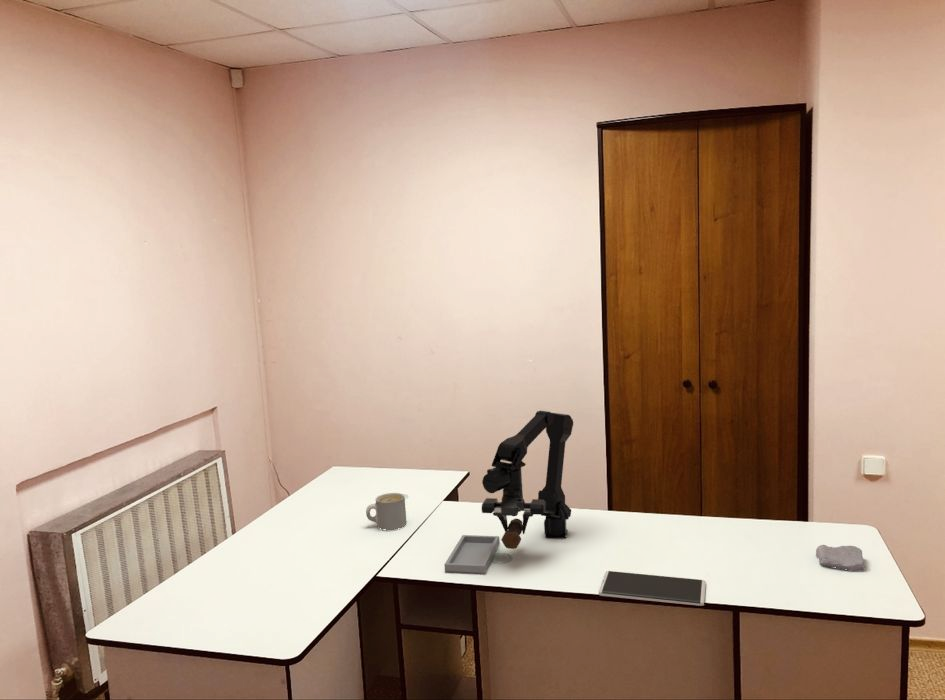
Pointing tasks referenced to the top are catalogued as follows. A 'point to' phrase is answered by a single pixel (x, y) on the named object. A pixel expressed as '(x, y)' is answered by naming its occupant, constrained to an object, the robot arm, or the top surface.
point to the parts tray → (472, 554)
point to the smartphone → (653, 588)
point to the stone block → (841, 557)
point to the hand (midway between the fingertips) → (515, 533)
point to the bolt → (513, 534)
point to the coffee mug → (389, 511)
